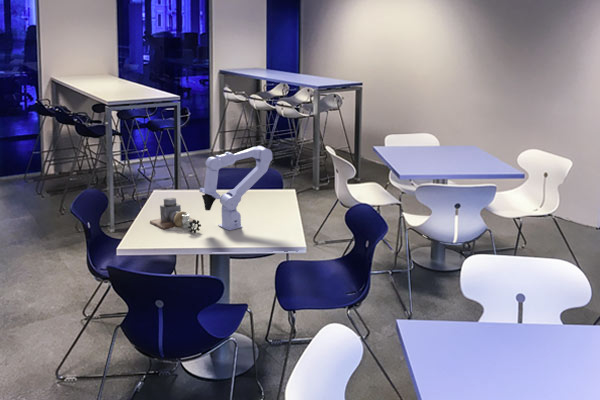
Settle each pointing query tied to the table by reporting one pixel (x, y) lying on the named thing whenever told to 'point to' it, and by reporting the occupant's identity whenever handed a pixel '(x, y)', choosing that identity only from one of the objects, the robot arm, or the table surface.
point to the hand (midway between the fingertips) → (207, 210)
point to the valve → (189, 223)
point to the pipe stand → (169, 215)
